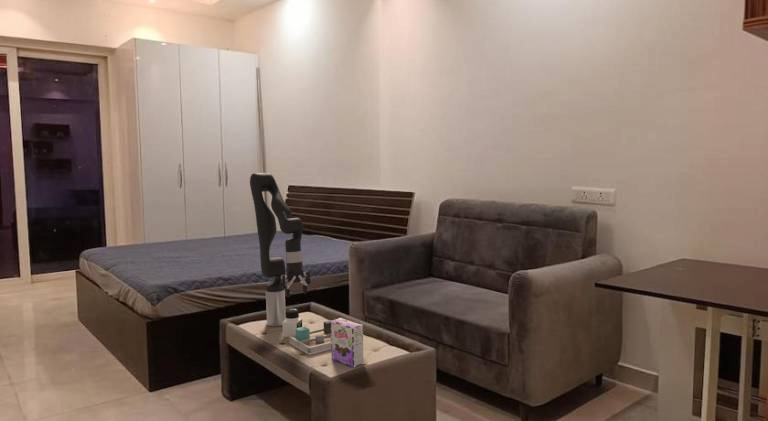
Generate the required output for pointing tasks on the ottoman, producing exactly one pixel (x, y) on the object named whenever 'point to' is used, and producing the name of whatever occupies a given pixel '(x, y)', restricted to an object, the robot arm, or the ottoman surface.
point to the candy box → (347, 342)
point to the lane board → (306, 348)
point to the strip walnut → (318, 344)
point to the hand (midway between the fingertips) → (296, 295)
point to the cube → (302, 333)
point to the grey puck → (319, 339)
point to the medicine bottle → (291, 322)
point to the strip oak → (326, 331)
